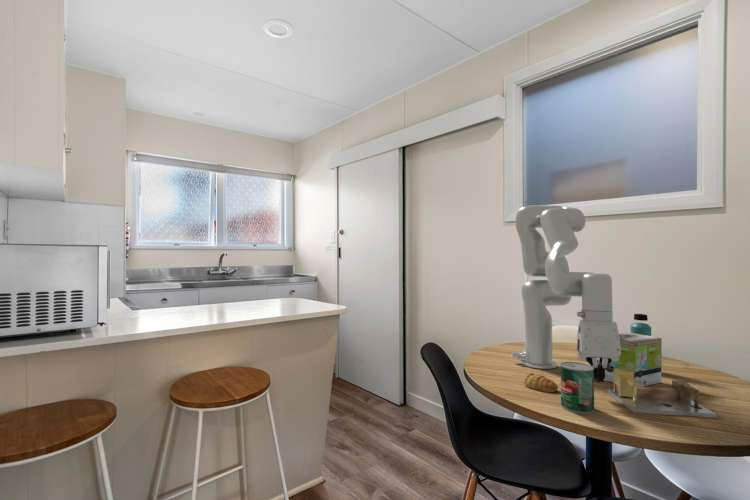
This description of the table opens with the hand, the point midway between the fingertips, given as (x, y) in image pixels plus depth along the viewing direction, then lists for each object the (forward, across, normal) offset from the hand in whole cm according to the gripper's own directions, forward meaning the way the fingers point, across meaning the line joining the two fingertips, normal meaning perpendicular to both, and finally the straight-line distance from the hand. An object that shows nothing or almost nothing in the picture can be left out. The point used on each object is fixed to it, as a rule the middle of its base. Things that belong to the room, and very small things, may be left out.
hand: (598, 380), depth 105 cm
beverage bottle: (+5, +27, +32) cm, 42 cm away
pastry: (+5, -14, +6) cm, 16 cm away
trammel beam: (+4, +14, -2) cm, 14 cm away
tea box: (+5, +17, +17) cm, 25 cm away
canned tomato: (+5, -9, -9) cm, 13 cm away
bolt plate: (+5, +14, -3) cm, 15 cm away
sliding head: (+4, +7, -2) cm, 8 cm away
